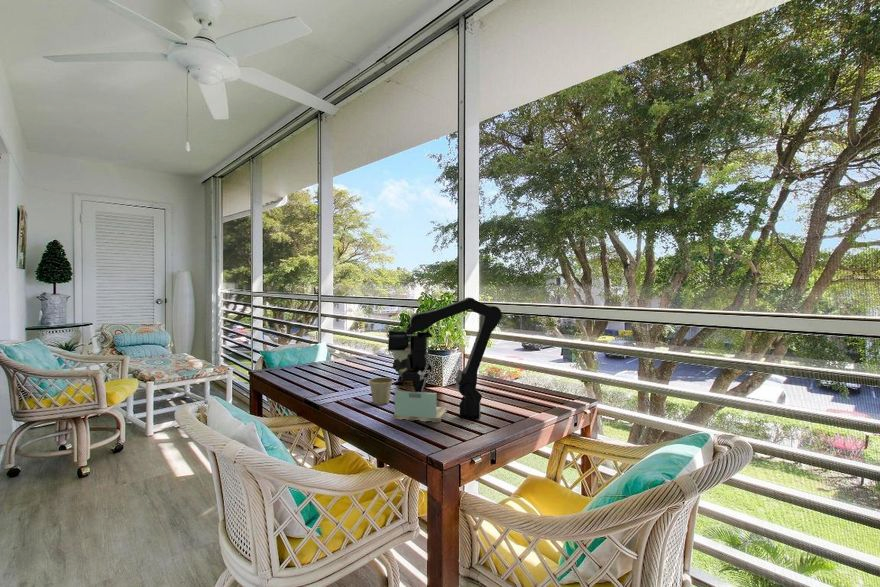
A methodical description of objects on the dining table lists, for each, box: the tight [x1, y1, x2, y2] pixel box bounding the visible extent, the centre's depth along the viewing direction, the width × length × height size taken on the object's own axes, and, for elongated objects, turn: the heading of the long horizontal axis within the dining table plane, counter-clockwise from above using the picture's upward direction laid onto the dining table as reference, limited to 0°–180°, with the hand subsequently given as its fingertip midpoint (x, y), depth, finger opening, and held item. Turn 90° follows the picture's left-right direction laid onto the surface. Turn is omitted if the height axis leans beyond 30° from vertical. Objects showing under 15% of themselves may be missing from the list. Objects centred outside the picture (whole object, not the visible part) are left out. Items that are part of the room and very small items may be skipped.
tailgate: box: [394, 390, 438, 418], centre depth 139 cm, size 14×2×8 cm, turn 77°
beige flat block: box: [392, 406, 448, 423], centre depth 146 cm, size 16×12×2 cm
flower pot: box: [368, 377, 394, 405], centre depth 161 cm, size 9×9×9 cm
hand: (418, 396), depth 143 cm, fingers closed
